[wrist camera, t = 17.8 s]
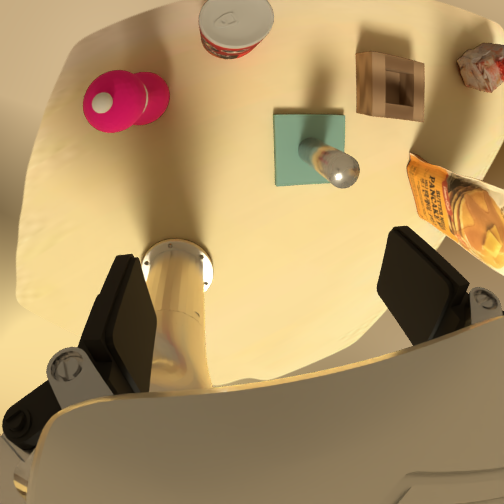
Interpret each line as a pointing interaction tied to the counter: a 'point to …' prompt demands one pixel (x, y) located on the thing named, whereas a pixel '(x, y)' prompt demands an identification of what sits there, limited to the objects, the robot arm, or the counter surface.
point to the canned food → (234, 26)
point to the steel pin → (329, 162)
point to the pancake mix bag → (461, 209)
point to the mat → (292, 134)
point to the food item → (483, 67)
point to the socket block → (390, 86)
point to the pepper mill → (125, 100)
